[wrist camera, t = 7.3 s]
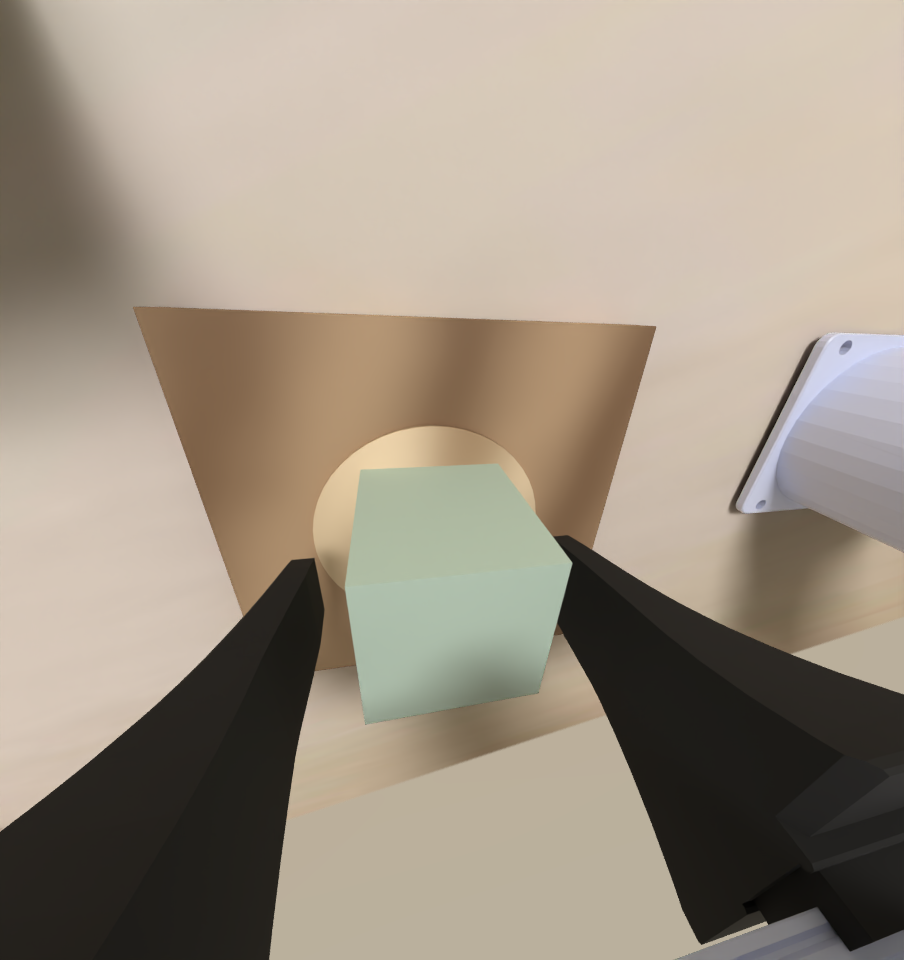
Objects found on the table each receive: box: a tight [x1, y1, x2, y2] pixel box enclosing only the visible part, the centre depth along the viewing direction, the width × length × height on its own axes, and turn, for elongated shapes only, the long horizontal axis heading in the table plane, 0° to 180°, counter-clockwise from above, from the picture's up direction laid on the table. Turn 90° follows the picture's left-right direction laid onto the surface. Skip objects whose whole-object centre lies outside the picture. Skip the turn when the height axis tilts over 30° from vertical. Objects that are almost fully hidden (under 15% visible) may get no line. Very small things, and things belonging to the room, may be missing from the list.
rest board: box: [133, 307, 656, 671], centre depth 13 cm, size 14×14×1 cm
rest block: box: [345, 464, 572, 725], centre depth 10 cm, size 4×4×5 cm
